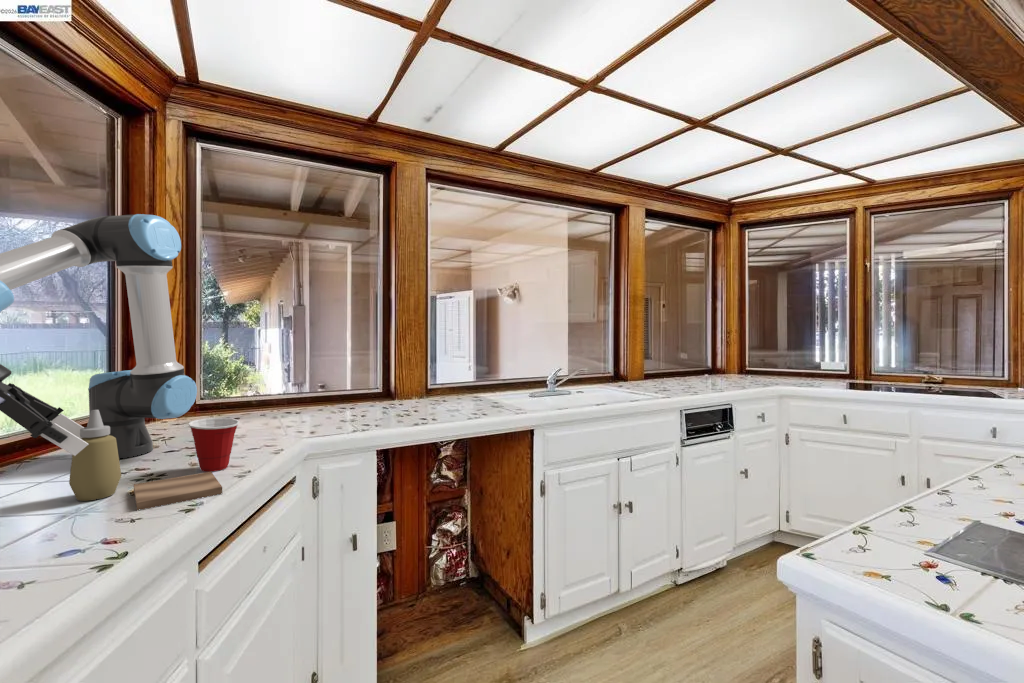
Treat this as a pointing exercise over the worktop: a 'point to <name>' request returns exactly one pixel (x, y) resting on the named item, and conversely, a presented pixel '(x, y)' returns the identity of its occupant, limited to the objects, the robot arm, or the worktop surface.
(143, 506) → the walnut board
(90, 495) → the squeeze bottle
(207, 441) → the plastic cup
